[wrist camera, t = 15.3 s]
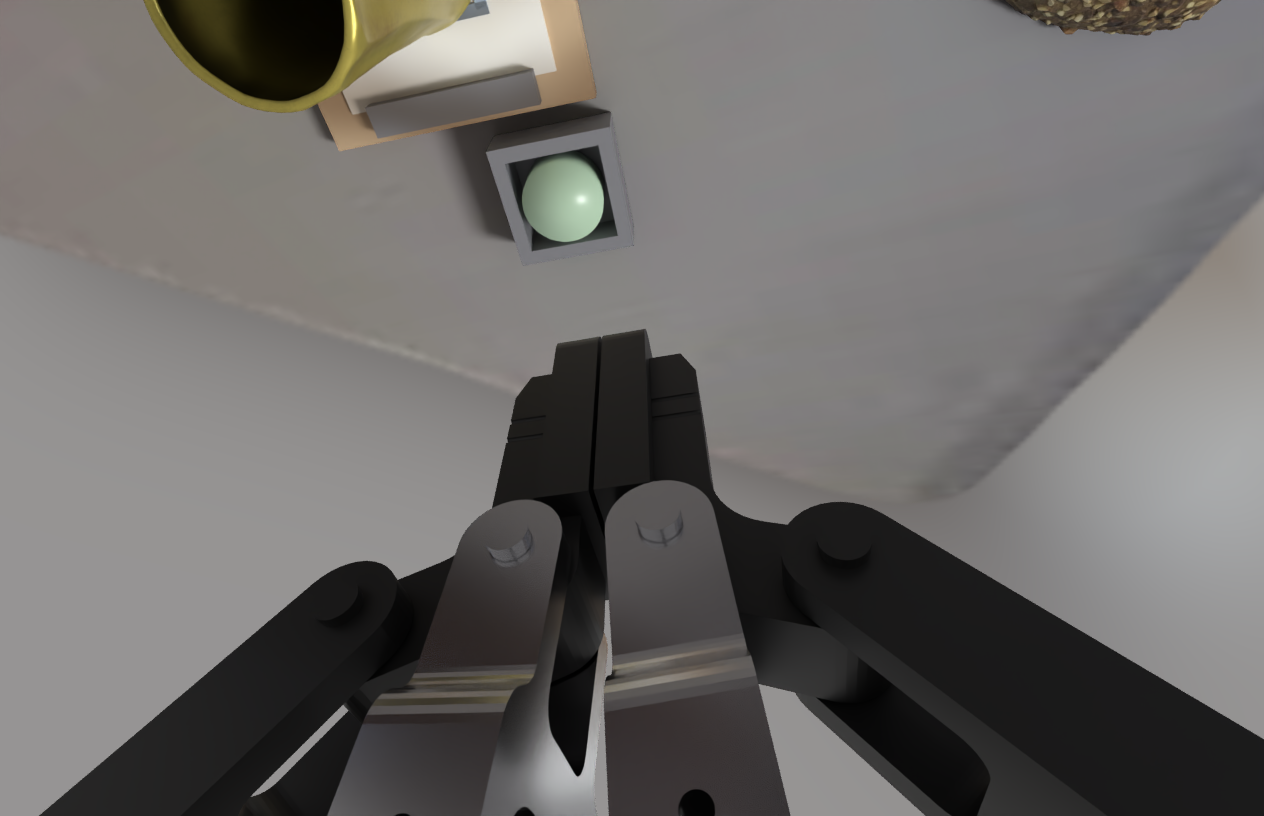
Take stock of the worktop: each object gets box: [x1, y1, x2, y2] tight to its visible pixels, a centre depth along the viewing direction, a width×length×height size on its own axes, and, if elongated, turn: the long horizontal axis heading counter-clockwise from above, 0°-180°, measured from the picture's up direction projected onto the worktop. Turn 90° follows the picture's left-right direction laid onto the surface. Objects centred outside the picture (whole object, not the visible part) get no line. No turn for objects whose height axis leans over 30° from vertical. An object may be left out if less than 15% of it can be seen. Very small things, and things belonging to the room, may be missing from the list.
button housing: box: [486, 112, 634, 266], centre depth 33 cm, size 6×6×2 cm
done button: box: [522, 150, 605, 242], centre depth 33 cm, size 4×4×2 cm
